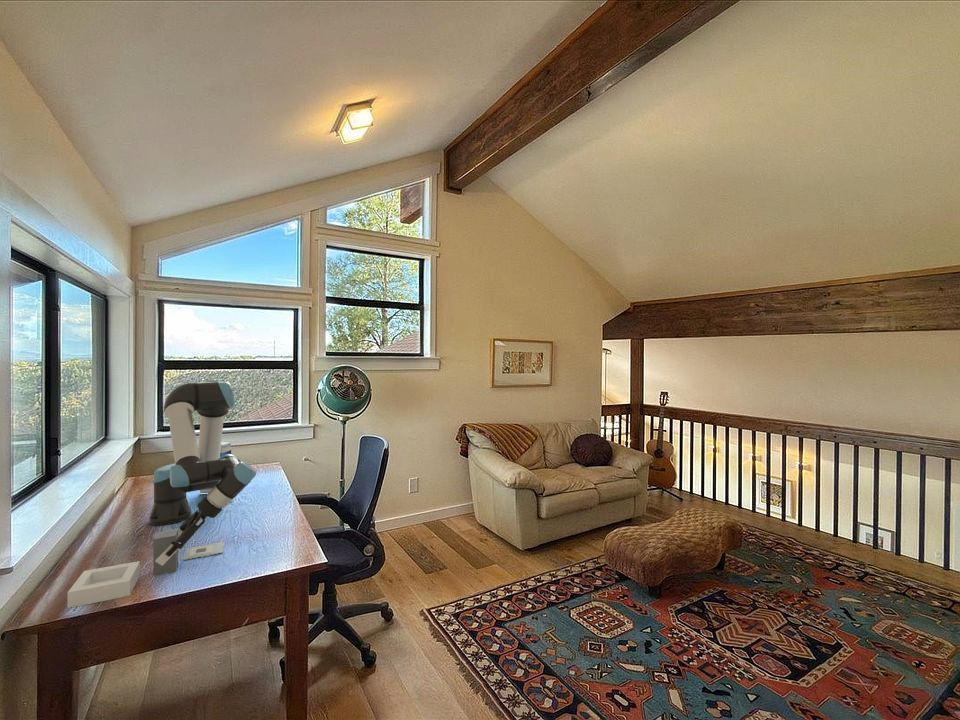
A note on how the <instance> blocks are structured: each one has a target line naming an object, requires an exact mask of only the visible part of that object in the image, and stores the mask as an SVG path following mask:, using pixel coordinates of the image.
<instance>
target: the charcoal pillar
mask: <svg viewBox="0 0 960 720" xmlns="http://www.w3.org/2000/svg"><path fill="white" fill-rule="evenodd" d="M177 539H178V528H176V529H173V530H172V529H171V530H170V529H169V530H166V531H157V532H156V534H155V535H154V537H153V538H152V547H153V548H152V551H153V552H152V557H153V560H152V561H153V577H157V576H161V575H166V574H165V573H167V574H171V572H172V573H176V572H177V569H178V567H179V550H178V551H177V552H176V553H175V554H174V555H173V556H172V557H171V558H170V559H169V560H168V561H167V562H166V563H165V564H164V565H163V566H162V565H160V564H158V563H157V562H155V560H156V559H157V558H158V557H159V556H160V555H161V554H162V553H163V552H164V551H165V550H166V549H167V548H168V547H169V546H170V545H171V542H172V541H174V542H175V541H176V540H177Z"/></svg>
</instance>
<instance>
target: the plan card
mask: <svg viewBox="0 0 960 720" xmlns="http://www.w3.org/2000/svg"><path fill="white" fill-rule="evenodd" d="M223 547H225V541H219V542H214V543H209V544H204V545H203V544H202V545H197V546H191V547H186V549H185V551H184V554H183V557H182V561H183V560H185V561H189V560H188V559H190V560H193V559H192V558H195V559H198V558H197V557H201V558H203V557H202V556H206V557H209V556H208V555H212V556H214V555H213V554H217V555H219V554H218V553H224V548H223Z"/></svg>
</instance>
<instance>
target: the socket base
mask: <svg viewBox="0 0 960 720" xmlns="http://www.w3.org/2000/svg"><path fill="white" fill-rule="evenodd" d="M140 576H141V561H140V560H139V561H132V562H127V563H120V564H115V565H112V566H111V565H110V566H105V567H99V568H94V569H92V568H91V569H87V570H83V572H81V574H80V576H79V577H78V578H77V579H76V581H74V583H73V585H72V586H71V587H70V588H69V590H68V592H67V609H71V607H72V608H76V607H75V606H77V607H80V606H81V605H82V606H85V605H86V604H87V605H91V604H96V603H100V602H105V601H110V600H116V599H120V598H124V597H125V598H126V597H130V596H131V594H132V592H133V590H134V589H135V586H136V584H137V582H138V581H139V578H140Z"/></svg>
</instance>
